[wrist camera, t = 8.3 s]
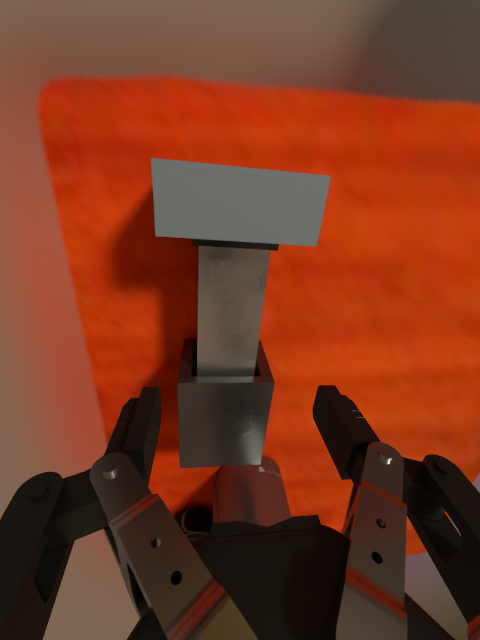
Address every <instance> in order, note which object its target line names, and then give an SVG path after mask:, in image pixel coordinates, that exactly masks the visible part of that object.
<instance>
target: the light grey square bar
mask: <svg viewBox="0 0 480 640" xmlns="http://www.w3.org/2000/svg"><path fill="white" fill-rule="evenodd" d="M192 245H193V246H199V265H198V337H197V377H250V376H254V372H255V364H256V356H257V349H258V341H259V333H260V325H261V318H262V310H263V302H264V295H265V287H266V279H267V271H268V264H269V256H270V250H277V251H278V247H279V244H271V243H255V242H240V241H224V240H208V239H192Z"/></svg>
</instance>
